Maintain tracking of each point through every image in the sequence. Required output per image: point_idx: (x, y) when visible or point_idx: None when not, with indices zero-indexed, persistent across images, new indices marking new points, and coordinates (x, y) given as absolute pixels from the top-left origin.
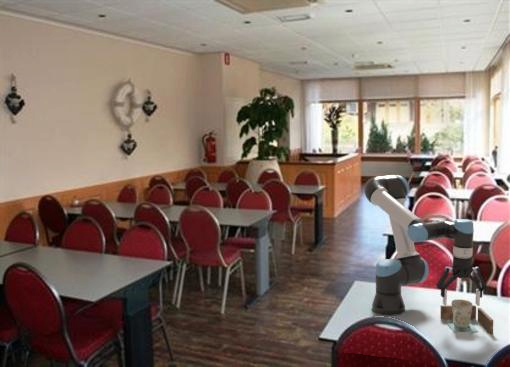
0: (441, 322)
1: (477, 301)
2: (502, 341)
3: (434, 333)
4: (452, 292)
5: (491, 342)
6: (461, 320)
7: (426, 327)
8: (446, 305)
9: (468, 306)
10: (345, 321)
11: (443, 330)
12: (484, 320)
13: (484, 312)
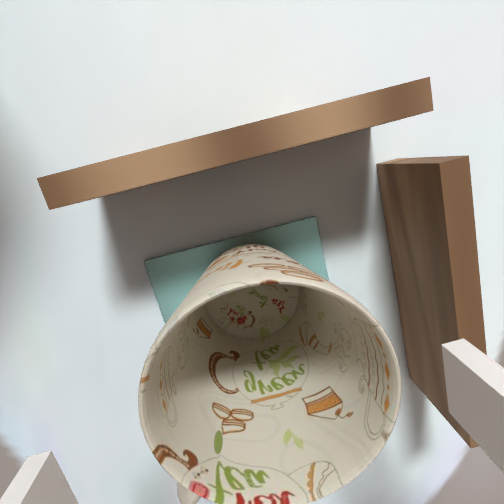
0: (110, 261)
1: (484, 442)
2: (451, 452)
3: (80, 455)
4: None
5: (390, 479)
6: (250, 379)
7: (16, 380)
8: (104, 166)
9: (338, 483)
10: None
11: (132, 397)
12: (426, 314)
13: (471, 285)
